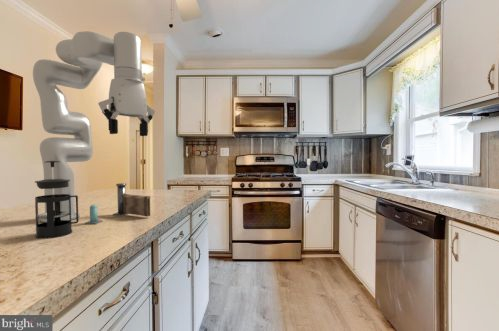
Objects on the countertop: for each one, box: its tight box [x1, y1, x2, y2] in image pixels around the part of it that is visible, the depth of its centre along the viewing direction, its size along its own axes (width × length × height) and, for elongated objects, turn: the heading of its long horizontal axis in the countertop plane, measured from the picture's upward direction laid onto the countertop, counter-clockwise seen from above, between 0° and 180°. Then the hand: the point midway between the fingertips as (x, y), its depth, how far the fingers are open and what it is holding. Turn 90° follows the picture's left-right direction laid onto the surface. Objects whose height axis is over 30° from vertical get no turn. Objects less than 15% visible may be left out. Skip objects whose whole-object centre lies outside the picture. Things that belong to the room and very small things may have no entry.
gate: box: [123, 193, 151, 217], centre depth 109 cm, size 14×2×8 cm, turn 62°
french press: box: [34, 161, 80, 240], centre depth 84 cm, size 12×9×23 cm
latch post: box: [84, 204, 103, 225], centre depth 98 cm, size 4×4×7 cm
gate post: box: [112, 182, 128, 216], centre depth 113 cm, size 5×5×13 cm
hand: (129, 134), depth 81 cm, fingers open, 9 cm apart
